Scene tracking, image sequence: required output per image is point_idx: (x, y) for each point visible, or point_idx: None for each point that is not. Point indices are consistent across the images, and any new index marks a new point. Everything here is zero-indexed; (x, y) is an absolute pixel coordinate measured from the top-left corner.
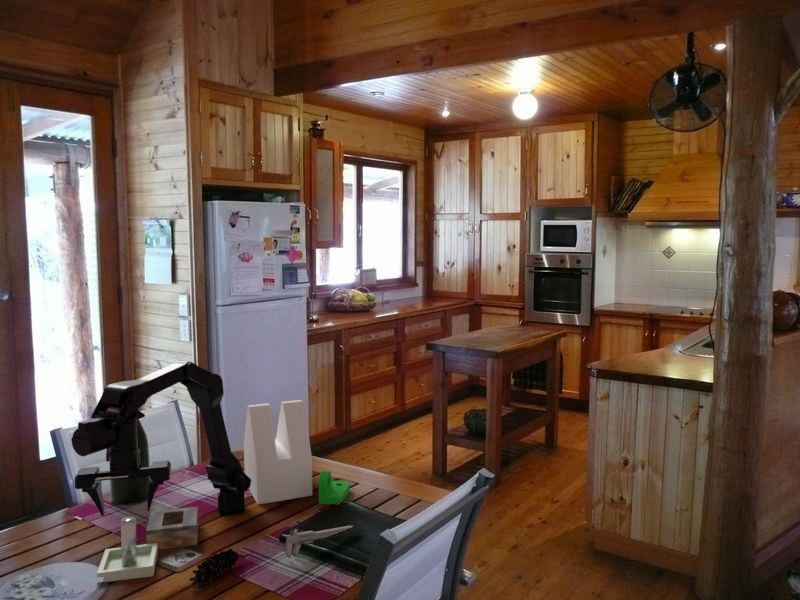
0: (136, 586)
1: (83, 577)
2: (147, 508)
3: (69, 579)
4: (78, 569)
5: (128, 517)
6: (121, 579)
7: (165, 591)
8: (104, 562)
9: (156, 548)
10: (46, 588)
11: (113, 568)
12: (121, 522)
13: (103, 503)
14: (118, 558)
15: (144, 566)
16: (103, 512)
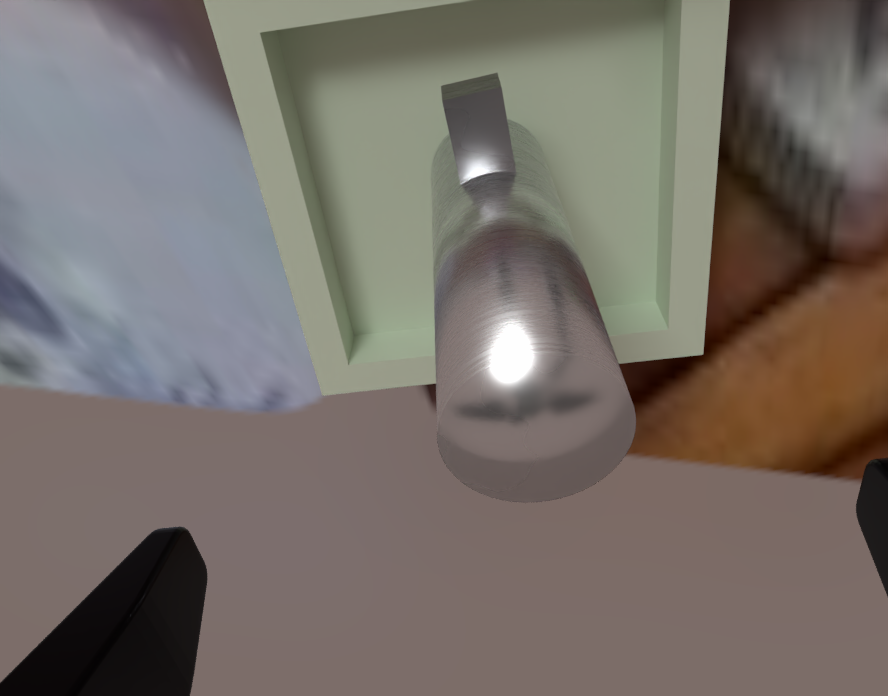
0: None
1: (189, 244)
2: (878, 571)
3: (103, 257)
4: (76, 117)
5: (521, 378)
6: None
7: (754, 453)
8: (311, 256)
9: (725, 54)
10: (23, 342)
11: (383, 229)
12: (456, 471)
13: (109, 682)
14: (364, 59)
15: (641, 352)
16: (194, 617)
